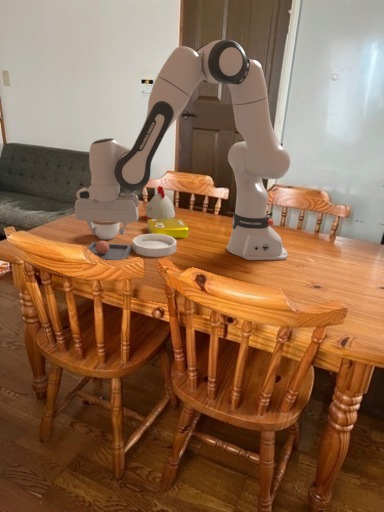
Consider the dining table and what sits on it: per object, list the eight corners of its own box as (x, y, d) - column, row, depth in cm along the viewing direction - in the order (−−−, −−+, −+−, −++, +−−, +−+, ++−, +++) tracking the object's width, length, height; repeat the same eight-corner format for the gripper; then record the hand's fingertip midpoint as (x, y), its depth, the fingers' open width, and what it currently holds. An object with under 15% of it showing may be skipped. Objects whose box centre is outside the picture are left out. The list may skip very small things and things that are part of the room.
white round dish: (177, 242, 136) (177, 235, 134) (174, 258, 121) (174, 250, 120) (137, 239, 135) (137, 232, 134) (129, 255, 121) (129, 247, 120)
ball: (113, 246, 120) (104, 236, 119) (110, 250, 116) (100, 240, 114) (103, 253, 121) (94, 244, 120) (100, 258, 117) (90, 248, 116)
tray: (131, 250, 125) (131, 244, 125) (123, 265, 113) (123, 260, 112) (92, 247, 125) (92, 242, 125) (80, 263, 112) (79, 257, 112)
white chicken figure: (169, 213, 173) (170, 183, 167) (179, 221, 161) (181, 189, 156) (141, 215, 167) (142, 184, 162) (150, 223, 156) (151, 190, 150)
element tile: (189, 238, 142) (190, 227, 140) (153, 240, 137) (153, 228, 136) (180, 227, 155) (180, 216, 153) (146, 228, 151) (146, 217, 149)
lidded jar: (113, 243, 131) (113, 219, 127) (87, 239, 132) (85, 215, 129) (124, 234, 141) (124, 211, 137) (99, 231, 142) (98, 208, 139)
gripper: (140, 191, 114) (140, 231, 119) (77, 188, 114) (81, 228, 119) (136, 196, 108) (137, 238, 113) (71, 192, 108) (75, 234, 113)
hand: (108, 233), depth 116 cm, fingers open, 8 cm apart
